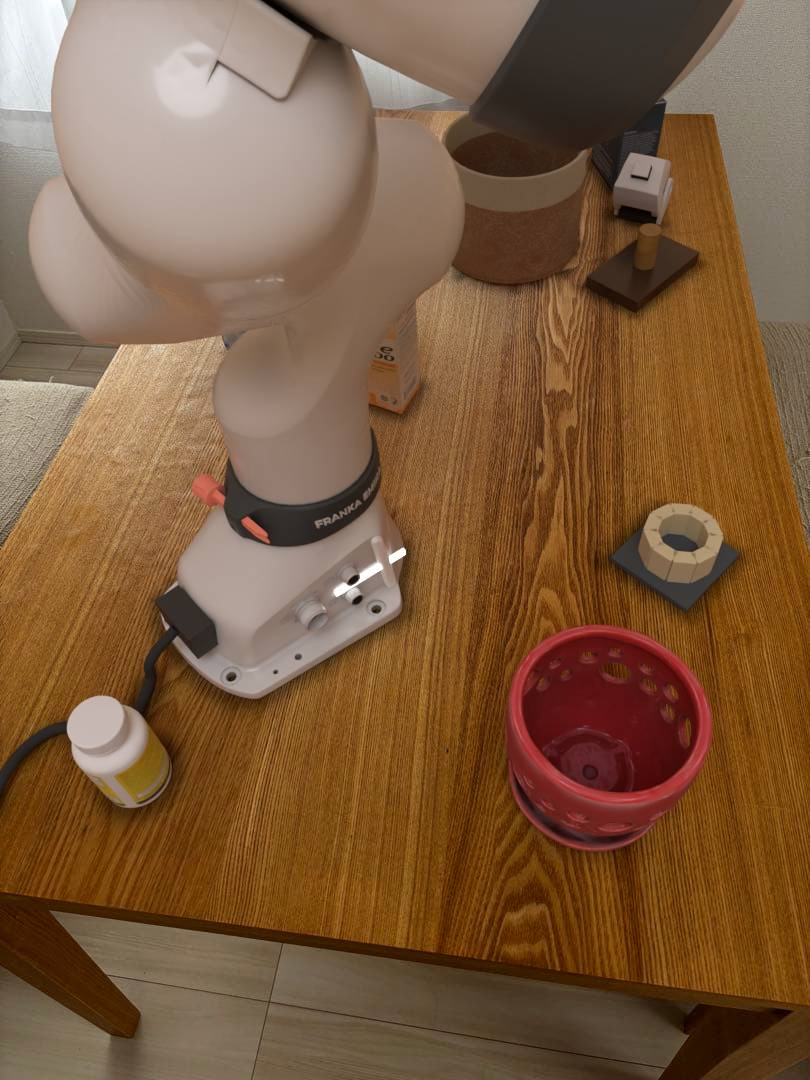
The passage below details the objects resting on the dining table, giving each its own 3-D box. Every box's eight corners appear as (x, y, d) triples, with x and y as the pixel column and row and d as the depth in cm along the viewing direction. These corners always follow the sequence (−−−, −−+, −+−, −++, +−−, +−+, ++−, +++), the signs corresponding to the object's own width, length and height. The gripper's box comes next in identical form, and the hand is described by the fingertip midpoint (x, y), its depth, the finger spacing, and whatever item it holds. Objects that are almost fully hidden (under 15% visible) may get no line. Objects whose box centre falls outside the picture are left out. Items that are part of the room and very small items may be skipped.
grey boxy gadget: (615, 223, 110) (606, 194, 101) (633, 171, 109) (625, 137, 100) (661, 233, 108) (655, 205, 99) (679, 180, 107) (676, 147, 98)
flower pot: (663, 890, 60) (700, 834, 51) (480, 832, 63) (483, 769, 54) (689, 724, 67) (726, 647, 58) (524, 679, 71) (534, 599, 61)
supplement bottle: (177, 740, 69) (140, 683, 61) (168, 807, 66) (128, 756, 58) (110, 744, 69) (64, 688, 61) (98, 811, 66) (48, 761, 58)
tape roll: (688, 596, 74) (695, 576, 71) (623, 554, 77) (628, 533, 74) (729, 551, 76) (738, 530, 74) (665, 512, 79) (671, 491, 77)
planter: (427, 277, 103) (423, 168, 92) (464, 203, 111) (464, 95, 100) (560, 298, 99) (572, 187, 88) (587, 219, 108) (601, 109, 97)
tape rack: (635, 313, 97) (644, 267, 92) (585, 287, 100) (591, 241, 95) (697, 263, 101) (708, 217, 97) (647, 240, 105) (656, 194, 100)
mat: (685, 613, 73) (687, 609, 73) (609, 560, 77) (610, 556, 77) (738, 557, 76) (740, 553, 76) (662, 509, 80) (663, 504, 80)
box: (652, 183, 112) (668, 101, 103) (611, 191, 111) (623, 109, 103) (629, 152, 116) (642, 71, 108) (589, 159, 116) (599, 78, 107)
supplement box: (332, 396, 92) (314, 294, 81) (353, 367, 94) (339, 264, 83) (402, 417, 89) (393, 315, 79) (422, 387, 92) (416, 284, 81)
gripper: (667, -156, 56) (634, 66, 67) (437, -205, 65) (441, -2, 76) (606, -128, 53) (582, 98, 64) (377, -183, 62) (390, 23, 74)
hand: (504, 43), depth 70 cm, fingers open, 8 cm apart
